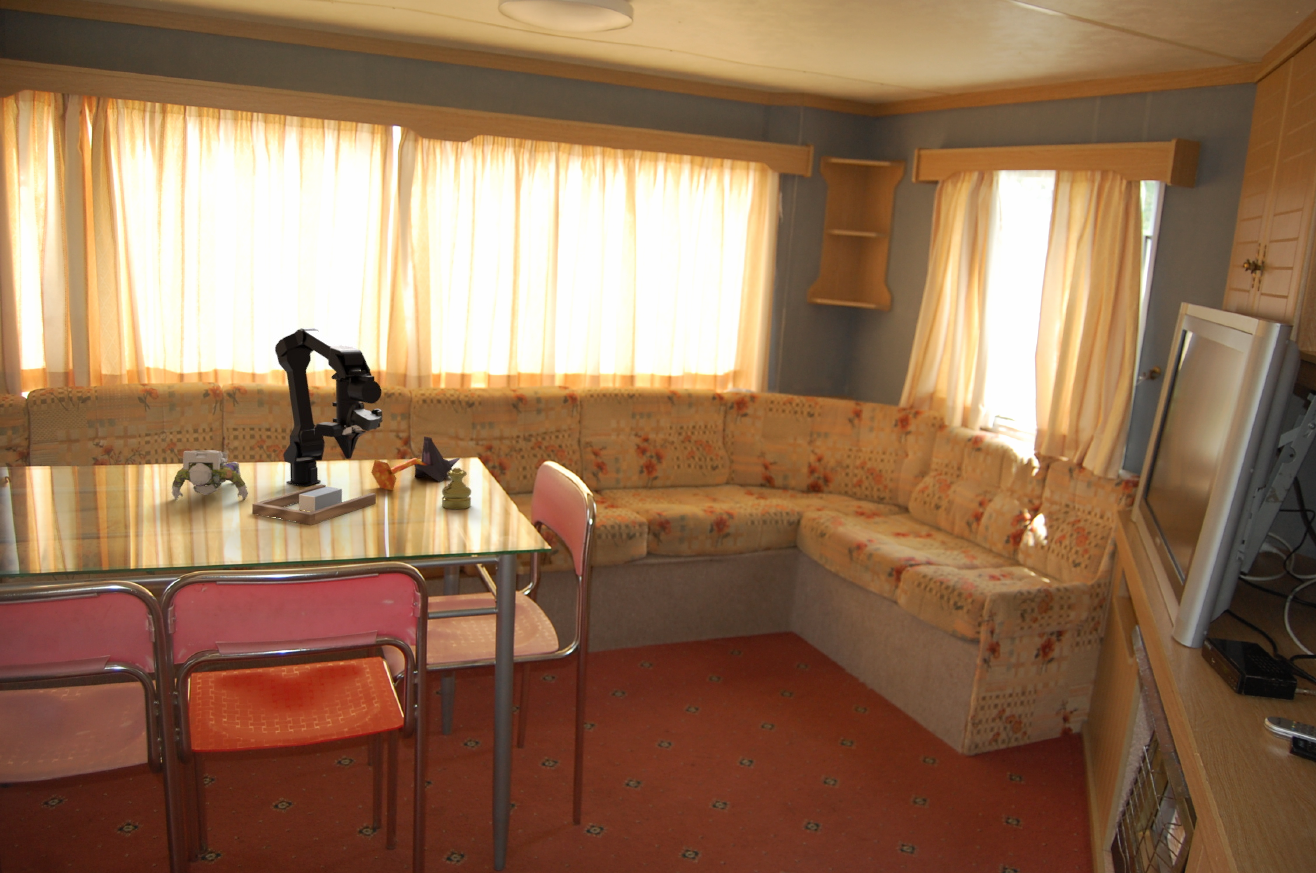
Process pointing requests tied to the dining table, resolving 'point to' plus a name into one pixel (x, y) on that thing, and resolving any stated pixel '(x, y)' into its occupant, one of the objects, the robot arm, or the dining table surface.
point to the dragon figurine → (428, 466)
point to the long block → (320, 498)
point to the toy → (208, 473)
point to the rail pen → (276, 509)
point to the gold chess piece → (456, 491)
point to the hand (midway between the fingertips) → (348, 458)
